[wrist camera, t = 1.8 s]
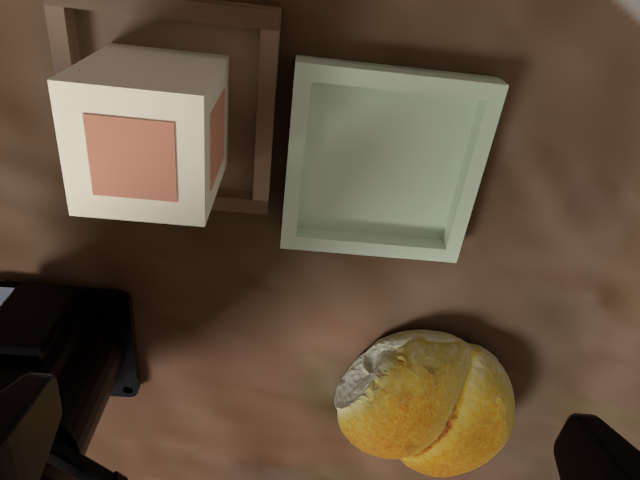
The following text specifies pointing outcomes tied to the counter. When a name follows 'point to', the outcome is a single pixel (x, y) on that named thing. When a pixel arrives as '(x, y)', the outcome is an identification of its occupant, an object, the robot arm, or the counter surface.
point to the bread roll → (427, 402)
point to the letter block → (142, 133)
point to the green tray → (385, 157)
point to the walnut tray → (205, 37)
